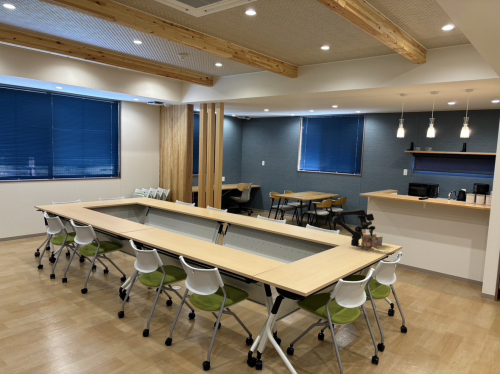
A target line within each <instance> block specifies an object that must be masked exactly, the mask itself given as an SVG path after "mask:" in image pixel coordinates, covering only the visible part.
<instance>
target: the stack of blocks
mask: <svg viewBox="0 0 500 374" xmlns="http://www.w3.org/2000/svg"><path fill="white" fill-rule="evenodd" d="M362 233H363V236H369V237H371V235H370V232H362ZM363 238H364V237H363ZM368 243H369V242H368ZM360 245H361V246H362V241H361V243H360ZM363 245H364V243H363ZM370 246H371V243H370ZM377 246H383V236H382V235H378V234H376V233H374V232H373V234H372V247H377Z"/></svg>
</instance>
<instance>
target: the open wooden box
mask: <svg viewBox="0 0 500 374" xmlns="http://www.w3.org/2000/svg"><path fill="white" fill-rule="evenodd" d="M363 237H364V238H363ZM363 237H362V236H361V242H362V245H361V248H364V249H371V248H373V246H372V237H369V236H363ZM368 242H369V243H371V246H368V247H367V243H368ZM363 243H366V246H364V245H363Z"/></svg>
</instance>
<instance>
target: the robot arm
mask: <svg viewBox="0 0 500 374" xmlns="http://www.w3.org/2000/svg"><path fill="white" fill-rule="evenodd" d="M373 214H374V213H366V212H365V210H364V209H363V208H358V209H354V210H340V211H339V212H338V213H337V214H336V215H335V216H333V217H332V221H333V223H335V225H338V226H341V227H342V228H343V229H344V230H345V231H347V232H349V233H350V234H351V235H352V236H351V240H350V241H351V242H350V246H353V247H359V246H360V240H362V237H363V233H364V232H363V230H368V233H370V235H371V237H372V234H373V233H374V230H375V229H376V226H375V225H373V221H375V217H374V215H373ZM343 216H357V217H356V219H357V220H358V219H359V225H356V227H355V228H354V229H352V228H351V227H350V226H349V225H347V224H346V223H344V222H343V221H342V218H343Z"/></svg>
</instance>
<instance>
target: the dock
mask: <svg viewBox="0 0 500 374" xmlns="http://www.w3.org/2000/svg"><path fill="white" fill-rule="evenodd" d="M359 250H361V251H365V252H371V251H372V250H374V247H372V248H371V249H364V248H362V247H359Z"/></svg>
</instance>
